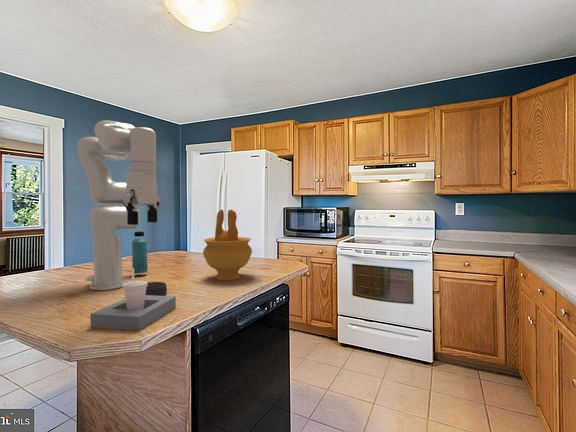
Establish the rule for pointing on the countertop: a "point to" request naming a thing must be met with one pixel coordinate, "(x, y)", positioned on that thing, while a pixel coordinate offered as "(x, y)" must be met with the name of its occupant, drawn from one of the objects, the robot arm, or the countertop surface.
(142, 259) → the beverage bottle
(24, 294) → the countertop surface
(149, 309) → the socket block
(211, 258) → the decorative bowl
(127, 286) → the smoothie
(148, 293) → the smart speaker
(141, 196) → the robot arm
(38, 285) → the countertop surface
